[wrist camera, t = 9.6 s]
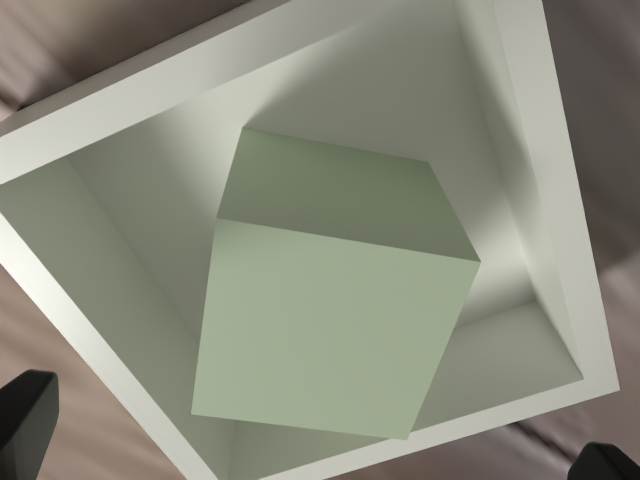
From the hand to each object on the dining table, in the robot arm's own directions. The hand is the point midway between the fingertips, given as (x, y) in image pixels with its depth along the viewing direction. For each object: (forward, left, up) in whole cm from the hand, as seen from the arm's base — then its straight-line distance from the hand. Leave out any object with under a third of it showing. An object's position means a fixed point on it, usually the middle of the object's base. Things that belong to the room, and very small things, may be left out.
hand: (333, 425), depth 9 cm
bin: (0, 0, -8) cm, 8 cm away
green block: (0, 0, -7) cm, 7 cm away
